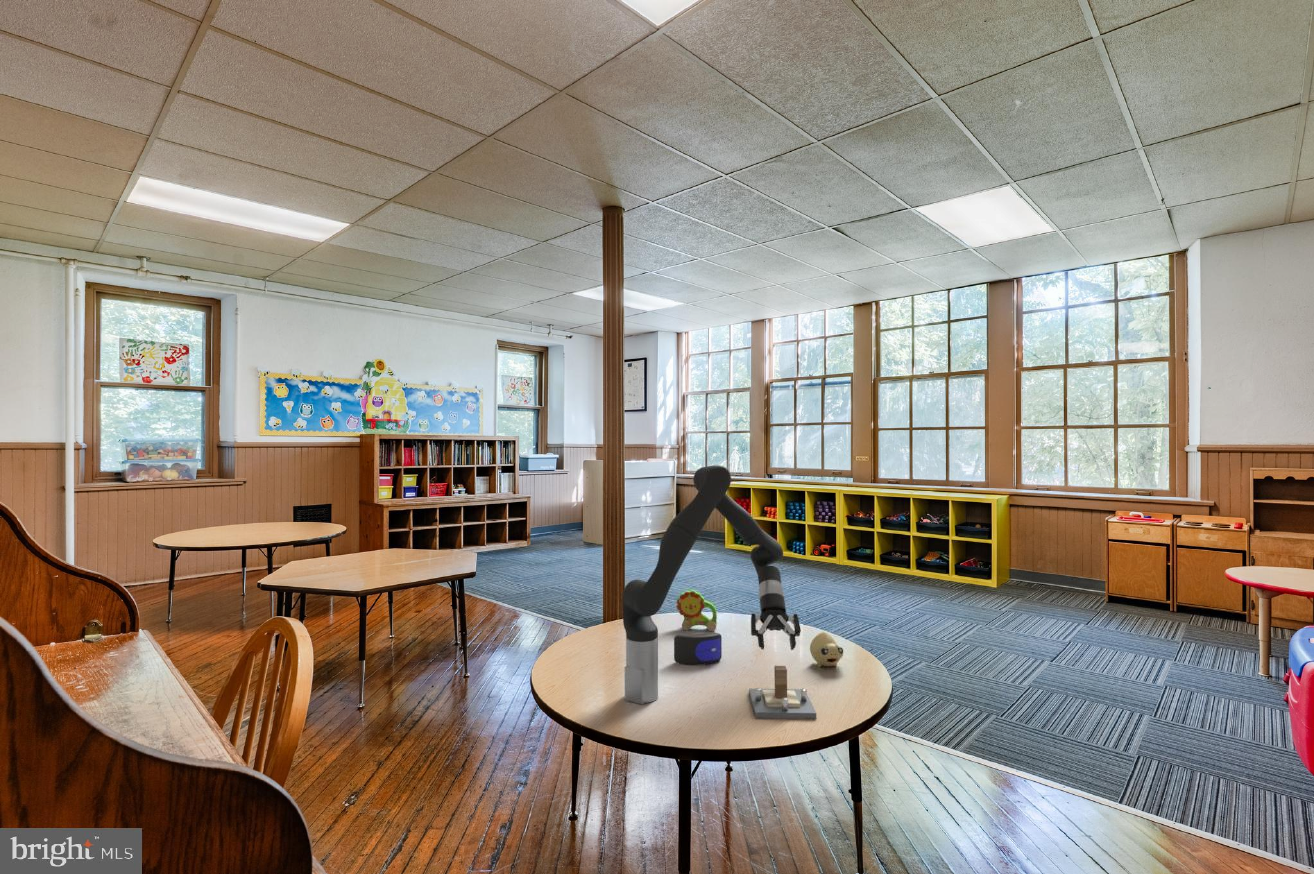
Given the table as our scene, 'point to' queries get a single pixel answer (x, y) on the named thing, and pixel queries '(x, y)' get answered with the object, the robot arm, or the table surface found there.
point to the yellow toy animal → (825, 650)
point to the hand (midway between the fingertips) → (777, 648)
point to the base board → (776, 712)
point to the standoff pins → (784, 700)
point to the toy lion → (695, 610)
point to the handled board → (779, 701)
